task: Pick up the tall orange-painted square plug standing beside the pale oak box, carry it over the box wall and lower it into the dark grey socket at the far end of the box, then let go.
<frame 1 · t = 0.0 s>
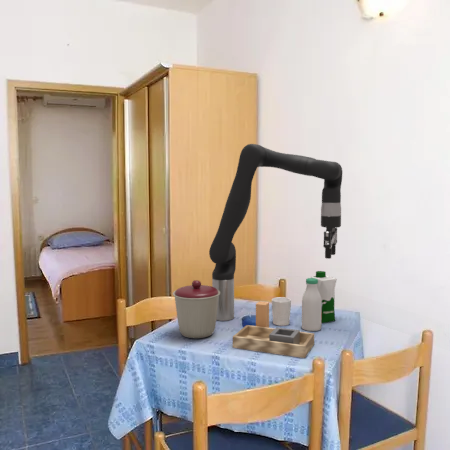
hand: (330, 256, 183), 29 cm above the table, tool pointing down, fingers open, 8 cm apart
plug: (262, 333, 183), on the table
canister: (197, 334, 183), on the table
milk carton: (323, 320, 200), on the table
milk bottle: (311, 329, 189), on the table
socket: (284, 347, 169), resting on oak box
white cup: (281, 323, 196), on the table
oak box: (273, 345, 170), on the table
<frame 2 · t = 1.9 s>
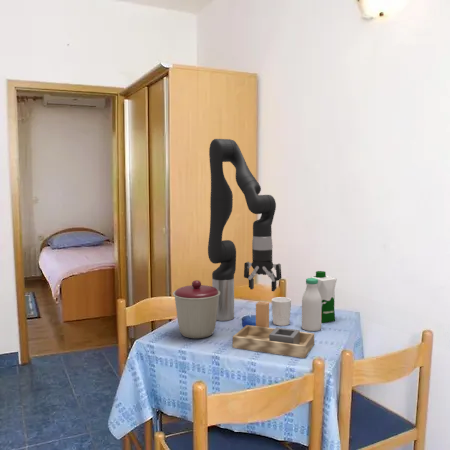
hand: (262, 290, 182), 17 cm above the table, tool pointing down, fingers open, 8 cm apart
nothing on the table moved.
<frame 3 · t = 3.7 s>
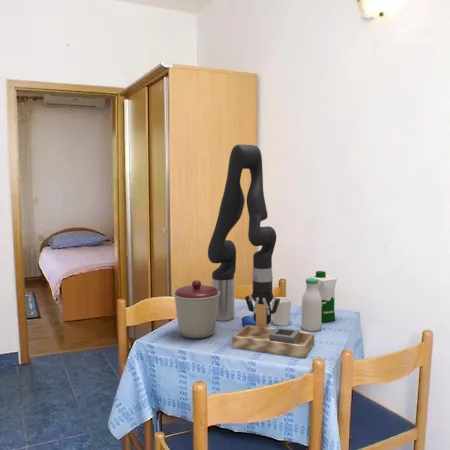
hand: (262, 322, 183), 4 cm above the table, tool pointing down, fingers closed on plug, 4 cm apart
plug: (262, 333, 183), on the table, touching gripper
everything else where it was.
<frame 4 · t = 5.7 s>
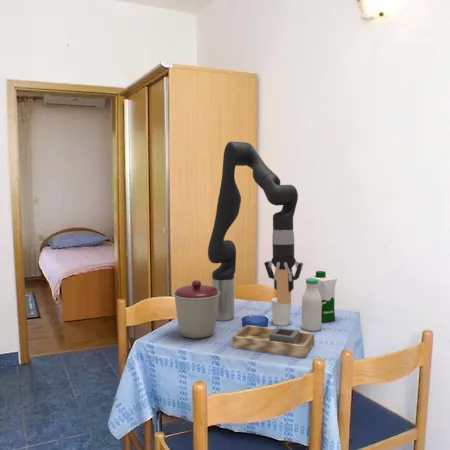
hand: (284, 290, 167), 20 cm above the table, tool pointing down, fingers closed on plug, 4 cm apart
plug: (284, 302, 168), point 16 cm above the table, touching gripper
everything else where it was.
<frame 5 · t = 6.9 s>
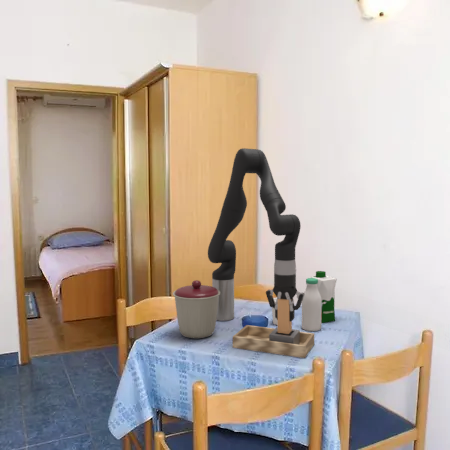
hand: (284, 319, 168), 10 cm above the table, tool pointing down, fingers closed on plug, 4 cm apart
plug: (284, 331, 168), point 6 cm above the table, touching gripper
everything else where it was.
when the fingers open (7 cm above the table, at t = 7.9 s): plug drops 2 cm, resting on oak box.
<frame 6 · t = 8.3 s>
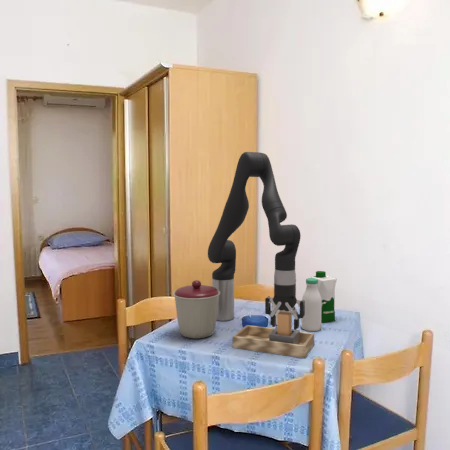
hand: (284, 327, 168), 7 cm above the table, tool pointing down, fingers open, 7 cm apart
plug: (284, 346, 169), resting on oak box
everything else where it was.
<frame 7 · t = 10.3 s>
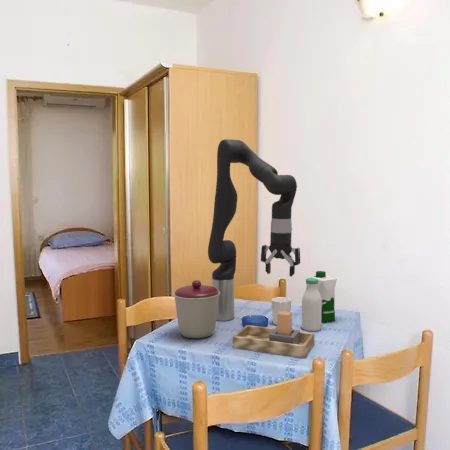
hand: (279, 274, 174), 25 cm above the table, tool pointing down, fingers open, 8 cm apart
nothing on the table moved.
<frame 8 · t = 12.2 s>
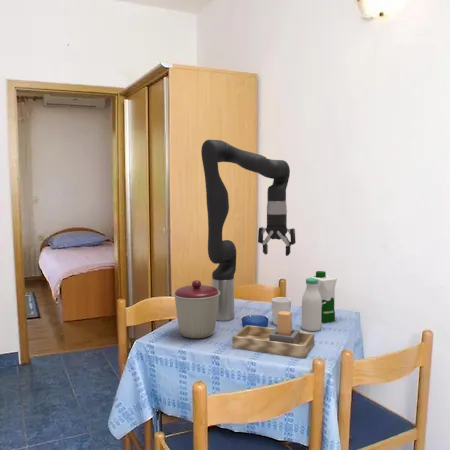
hand: (276, 254, 183), 30 cm above the table, tool pointing down, fingers open, 8 cm apart
nothing on the table moved.
at the end: plug 0.1 cm off-centre on the socket, point 0.5 cm above the socket's base; plug tilted 0°; the gripper is holding nothing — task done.
